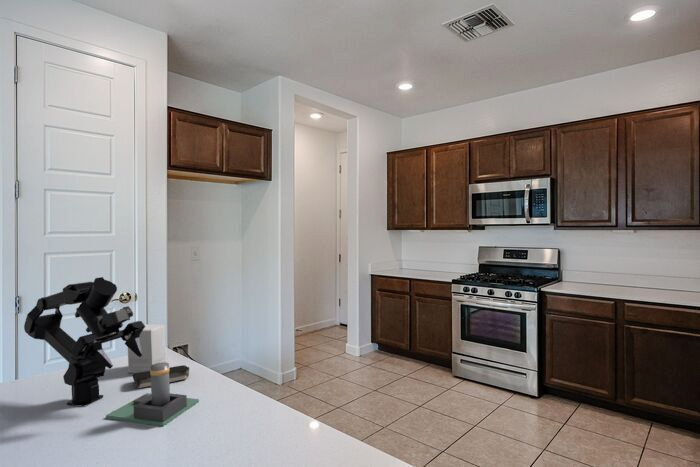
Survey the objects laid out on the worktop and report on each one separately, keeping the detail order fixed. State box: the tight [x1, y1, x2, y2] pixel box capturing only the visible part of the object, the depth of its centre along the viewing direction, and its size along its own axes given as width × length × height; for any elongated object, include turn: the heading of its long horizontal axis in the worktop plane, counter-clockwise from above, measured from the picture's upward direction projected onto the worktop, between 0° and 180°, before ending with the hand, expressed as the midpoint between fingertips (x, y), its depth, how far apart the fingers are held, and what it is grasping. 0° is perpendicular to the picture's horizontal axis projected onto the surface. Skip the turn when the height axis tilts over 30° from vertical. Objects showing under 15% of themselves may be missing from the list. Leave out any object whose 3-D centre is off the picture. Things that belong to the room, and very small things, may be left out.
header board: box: [105, 392, 200, 427], centre depth 108 cm, size 18×14×4 cm
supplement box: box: [127, 323, 167, 374], centre depth 140 cm, size 9×9×15 cm
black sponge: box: [131, 364, 190, 389], centre depth 129 cm, size 16×8×4 cm, turn 119°
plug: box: [150, 361, 171, 407], centre depth 105 cm, size 5×5×12 cm
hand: (127, 361), depth 108 cm, fingers open, 9 cm apart
